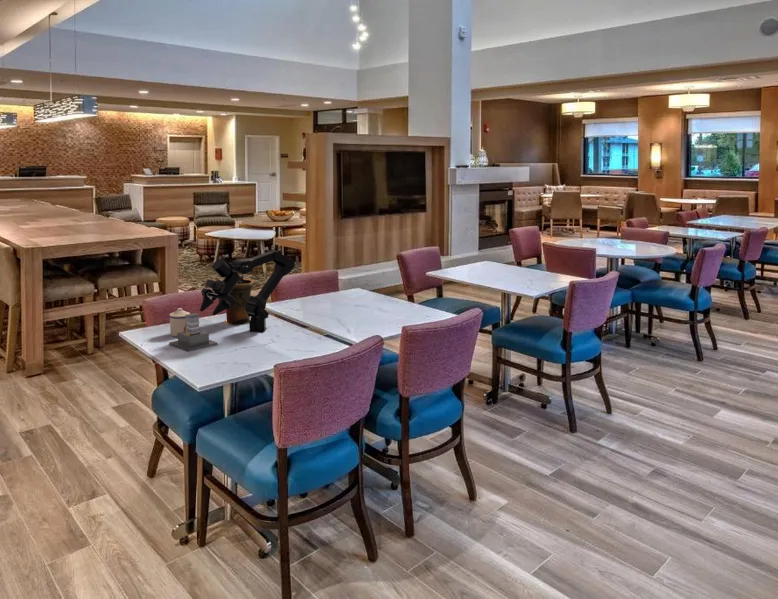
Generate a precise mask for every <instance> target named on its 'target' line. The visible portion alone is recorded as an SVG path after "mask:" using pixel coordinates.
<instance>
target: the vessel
mask: <svg viewBox="0 0 778 599" xmlns="http://www.w3.org/2000/svg"><path fill="white" fill-rule="evenodd" d="M243 279H244V282H238V283H237V284H236V286H235V287H234V288H233V290H234V292H231V293H230V295H231V296H232V297H233V298H234V299H235V300H236V304H235V306H234V307H233V306H231V308H228V309H226V310H225V312H226V313H225V314H226V316H225V317H226V320H227V321H226V320H224V322H223V323H224V324H227V325H232V326H244V325H249V321H250V320H251V319H250V318H251V317H249V316H248V314H247V312H246V310H245V305H246V302H247V301H248V300H249V298H250V296H252V295H251V293H252V289H253V288H254V281H253V280H252V279H248V278H243ZM225 322H226V323H225Z"/></svg>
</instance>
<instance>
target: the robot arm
mask: <svg viewBox="0 0 778 599" xmlns="http://www.w3.org/2000/svg"><path fill="white" fill-rule="evenodd" d="M270 262H273V263H274V268H273V269H274V270H273V272H272V273H271V275H270V276H269V277H268V279H267V280H266V282H265V283H264V285H263V286H262V287H261V289H260V291H259V292H258V293H257V295H255V296H253V295H251V296H250V298H249V300H248V301H247V302H246V305H245V310H246V312H247V314H248V316H249V317H250V321H249V324H248V326H249V327H248V328H249V332H250V333H253V332H254V333H264V332H266V330H267V329H268V328H267V324H266V323H267V322H266V321H267V320H266V319H268V318H269V315H270V314H269V312H268V311H267V310H266V307H267V301H268V300H269V298H270V297H271V295H272V294H273V292H274V290H276V288H277V287H278V285H279V283H280V282H281V281H282V279H283V277H285V276H287V275H288V274H290V273H291V272H292V271H293V270H294V269H295V266H296V264H295V260H294V259H293V258H291V257H288V256H286V255H284V254H283V253H281V252H280V251H278V250H275V249H274V250H273V249H271V250H269V251H267V252H264V253H263V252H262V253H261V254H258V255H255V256H253V257H249V258H240V259H235V260H234V261H233V262H229V261H228V260H227V259H226V258H225V257H221V258H220V259H218V260H216V261H214V262H213V264H212V265H211V269H212V270H214V272H215V273H216V274H217V275H218V276H219V277H220V278H223V279H222V280H219V279H216V280H212V279H207V280H206V282H205V285H204V288H202V289H201V291H200V293H201V296H202V302H201V306H200V308H199V311H200V312H204V311H205V310H206V309H208V308H209V307H210V306H212V305H213V304H214V302H215V301H216V300H218V303H217V305H216V306H215V308H214V309H213V312H212V313H211V314H212V315H213V316H216V315H217V314H219V313H220V314H221V312H223V311H226V309H228V308H231V306H233V307H234V306H235V304H236V300H235V299H234V298H233V297H232V296H231V295H230V293H231V292H234V290H233V288H234V287H235V286H236V284H237V283H238V282H244V279H245V278H244V276H243V275H247V274H249V273H250V272H252V271H253V270H254V269H255V268H256V267H259V266H262V265H264V264H268V263H270ZM240 274H242V275H240Z"/></svg>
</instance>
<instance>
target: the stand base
mask: <svg viewBox="0 0 778 599" xmlns="http://www.w3.org/2000/svg"><path fill="white" fill-rule="evenodd" d="M199 331H200V333H199V334H196V335H190V333H189V332H188V333H186V332H181V333H177V334H178V337H177V340H173V341H169V342H168V344H169V346H172V347H174V348H177V349H180V350H182V351H186V352H188V353H189V352H193V351H197V350H201V349H205V348H211V347H214V346H218V345H219V344H218V342H217V341H214V340H212V339H210V334H209V332H206V331H203V330H200V329H199Z"/></svg>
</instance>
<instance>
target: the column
mask: <svg viewBox="0 0 778 599" xmlns="http://www.w3.org/2000/svg"><path fill="white" fill-rule="evenodd" d="M186 325H187V326H186V328H187V331H186V333H188V332H189V333H190V335H196V334H199V333H200V331H201V330H200V314H199V312H198V313H197V312H194V313H193V312H192V313H190V314H187V315H186ZM199 330H200V331H199Z"/></svg>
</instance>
